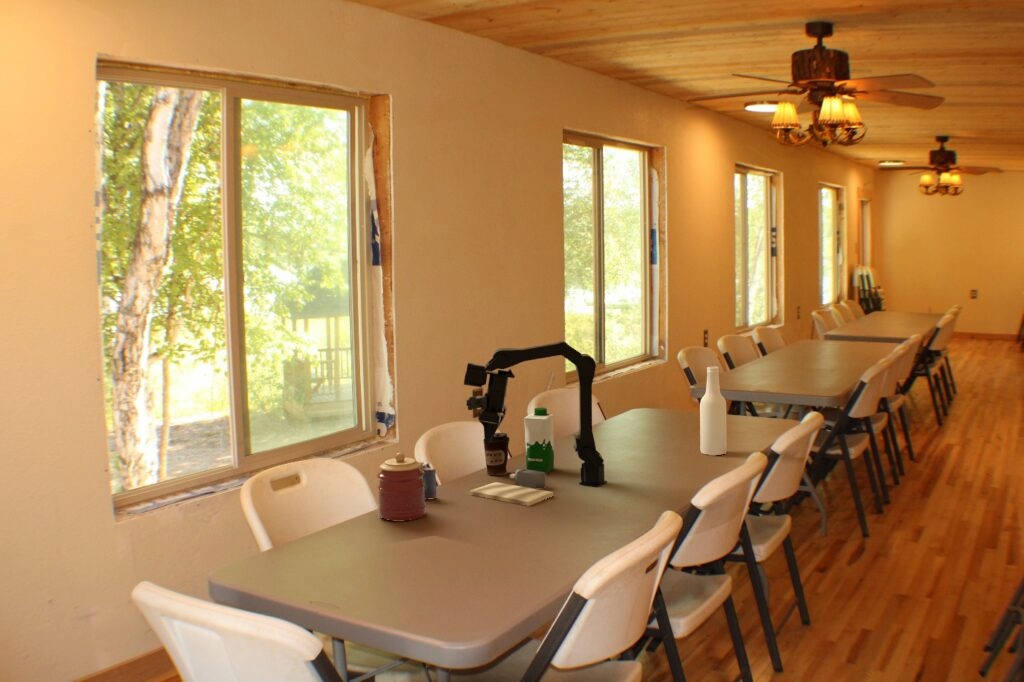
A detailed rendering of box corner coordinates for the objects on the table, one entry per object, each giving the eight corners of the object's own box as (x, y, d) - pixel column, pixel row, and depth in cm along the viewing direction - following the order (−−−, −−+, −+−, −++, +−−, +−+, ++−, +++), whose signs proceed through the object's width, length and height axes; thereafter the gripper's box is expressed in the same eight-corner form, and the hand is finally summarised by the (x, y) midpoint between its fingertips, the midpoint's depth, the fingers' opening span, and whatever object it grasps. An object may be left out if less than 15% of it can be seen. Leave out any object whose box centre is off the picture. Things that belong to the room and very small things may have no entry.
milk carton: (557, 467, 308) (555, 407, 306) (547, 474, 299) (546, 412, 297) (532, 466, 311) (530, 406, 309) (522, 472, 303) (520, 411, 301)
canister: (388, 525, 250) (385, 460, 248) (372, 513, 262) (369, 451, 260) (433, 517, 256) (430, 454, 254) (415, 506, 268) (413, 445, 266)
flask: (438, 497, 276) (436, 462, 275) (433, 500, 273) (432, 464, 272) (410, 495, 279) (408, 460, 278) (405, 498, 277) (403, 462, 276)
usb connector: (547, 486, 284) (547, 472, 284) (540, 489, 282) (540, 475, 281) (515, 481, 292) (514, 467, 292) (508, 483, 290) (507, 469, 289)
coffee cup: (507, 477, 297) (505, 437, 296) (481, 476, 299) (480, 436, 297) (512, 470, 306) (511, 431, 304) (487, 470, 307) (486, 431, 306)
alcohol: (730, 452, 322) (729, 366, 319) (721, 457, 315) (720, 369, 312) (705, 449, 327) (705, 364, 324) (696, 455, 320) (695, 368, 317)
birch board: (553, 496, 274) (553, 492, 274) (528, 506, 264) (528, 501, 264) (495, 485, 287) (495, 482, 287) (469, 494, 278) (469, 490, 278)
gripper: (475, 381, 293) (467, 430, 294) (465, 389, 274) (457, 441, 276) (510, 387, 292) (502, 436, 293) (503, 396, 273) (494, 448, 275)
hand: (488, 440), depth 284 cm, fingers open, 9 cm apart
